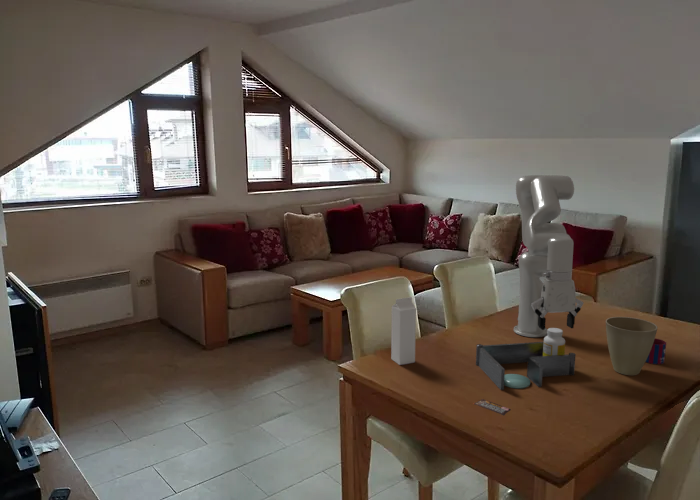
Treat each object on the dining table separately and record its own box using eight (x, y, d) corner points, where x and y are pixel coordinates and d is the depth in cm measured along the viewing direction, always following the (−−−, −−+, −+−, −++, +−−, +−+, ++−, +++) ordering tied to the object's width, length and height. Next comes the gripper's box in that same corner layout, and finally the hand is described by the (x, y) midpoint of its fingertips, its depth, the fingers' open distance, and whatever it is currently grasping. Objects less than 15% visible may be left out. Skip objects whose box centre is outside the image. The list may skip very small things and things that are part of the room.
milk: (415, 362, 196) (416, 299, 191) (399, 365, 193) (400, 301, 189) (406, 356, 201) (407, 294, 197) (390, 358, 199) (391, 296, 194)
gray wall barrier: (474, 363, 194) (475, 344, 193) (554, 358, 198) (555, 339, 197) (499, 390, 174) (500, 368, 173) (586, 383, 178) (588, 362, 177)
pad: (495, 377, 183) (495, 374, 183) (522, 375, 185) (522, 373, 185) (507, 389, 175) (507, 386, 175) (535, 387, 176) (535, 384, 176)
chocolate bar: (514, 412, 162) (514, 409, 162) (505, 417, 158) (505, 415, 158) (480, 399, 169) (480, 396, 169) (471, 404, 166) (471, 402, 166)
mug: (659, 366, 191) (661, 346, 190) (628, 357, 199) (630, 338, 197) (667, 361, 195) (669, 341, 194) (637, 352, 203) (639, 334, 202)
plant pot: (650, 384, 177) (655, 334, 174) (598, 374, 185) (601, 326, 182) (654, 367, 190) (659, 321, 187) (605, 358, 198) (609, 313, 194)
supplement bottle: (563, 364, 193) (566, 327, 190) (563, 372, 187) (566, 334, 184) (542, 362, 195) (544, 325, 192) (541, 370, 189) (544, 332, 186)
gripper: (538, 279, 180) (535, 332, 183) (590, 277, 182) (587, 330, 185) (527, 274, 187) (525, 325, 190) (578, 272, 189) (575, 323, 192)
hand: (555, 327), depth 187 cm, fingers open, 9 cm apart
